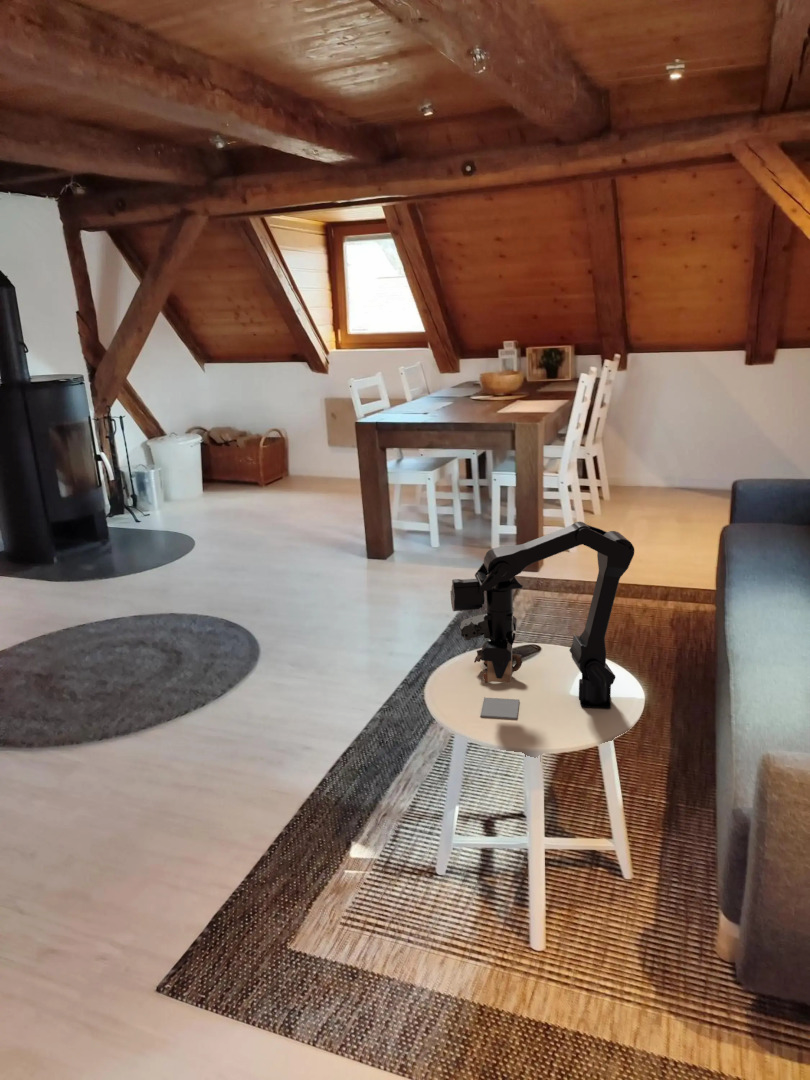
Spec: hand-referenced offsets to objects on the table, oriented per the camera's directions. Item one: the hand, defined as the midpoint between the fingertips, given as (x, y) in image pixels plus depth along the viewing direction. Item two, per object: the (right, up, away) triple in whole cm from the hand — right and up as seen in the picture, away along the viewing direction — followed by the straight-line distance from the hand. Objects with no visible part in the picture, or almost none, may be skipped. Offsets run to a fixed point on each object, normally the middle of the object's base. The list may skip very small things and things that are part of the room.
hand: (500, 672), depth 171 cm
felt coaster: (0, -9, +3) cm, 9 cm away
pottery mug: (+2, -4, +19) cm, 19 cm away
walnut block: (0, -1, 0) cm, 1 cm away
